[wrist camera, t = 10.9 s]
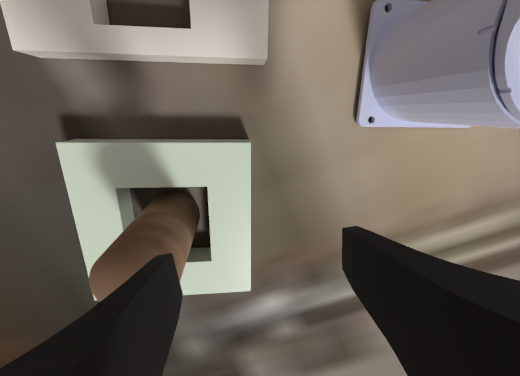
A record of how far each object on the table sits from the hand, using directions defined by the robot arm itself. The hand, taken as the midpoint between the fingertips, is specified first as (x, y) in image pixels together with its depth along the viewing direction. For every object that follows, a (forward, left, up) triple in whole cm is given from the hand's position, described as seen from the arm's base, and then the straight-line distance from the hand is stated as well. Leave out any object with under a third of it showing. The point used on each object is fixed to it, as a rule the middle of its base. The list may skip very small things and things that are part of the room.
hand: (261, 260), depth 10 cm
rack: (+6, +2, -9) cm, 11 cm away
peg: (+6, +2, -9) cm, 11 cm away
